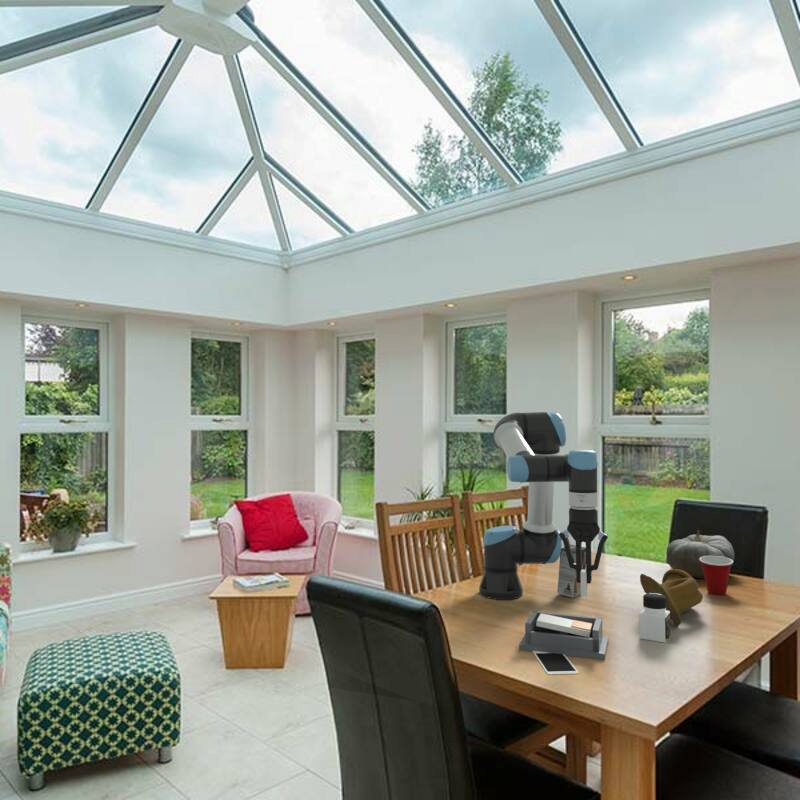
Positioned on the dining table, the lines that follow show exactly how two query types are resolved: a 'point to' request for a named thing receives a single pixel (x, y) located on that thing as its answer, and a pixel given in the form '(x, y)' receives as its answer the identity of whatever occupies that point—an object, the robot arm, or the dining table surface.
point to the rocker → (564, 625)
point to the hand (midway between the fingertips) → (584, 594)
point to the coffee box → (569, 574)
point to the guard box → (565, 638)
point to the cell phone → (555, 663)
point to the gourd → (697, 552)
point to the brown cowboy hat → (674, 591)
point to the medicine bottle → (654, 619)
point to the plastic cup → (716, 573)
